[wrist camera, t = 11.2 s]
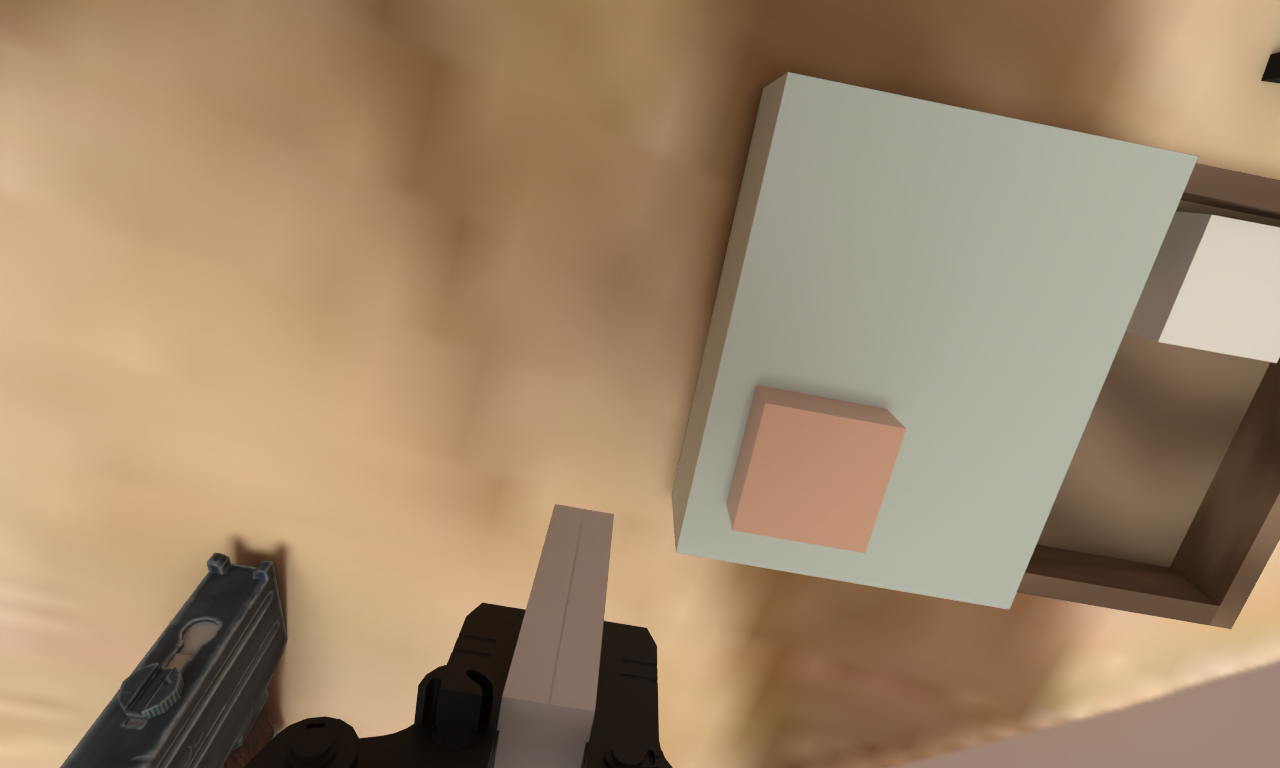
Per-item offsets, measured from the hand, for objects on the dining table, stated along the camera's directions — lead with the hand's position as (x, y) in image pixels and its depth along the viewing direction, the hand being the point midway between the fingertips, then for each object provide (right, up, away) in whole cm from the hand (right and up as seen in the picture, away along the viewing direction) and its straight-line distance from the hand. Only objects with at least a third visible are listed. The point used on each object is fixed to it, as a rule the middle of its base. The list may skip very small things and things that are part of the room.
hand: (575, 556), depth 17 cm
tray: (+24, +4, +13) cm, 28 cm away
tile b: (+8, +2, +9) cm, 12 cm away
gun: (-18, -10, +18) cm, 28 cm away
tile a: (+25, +8, +9) cm, 28 cm away
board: (+12, +6, +12) cm, 18 cm away
